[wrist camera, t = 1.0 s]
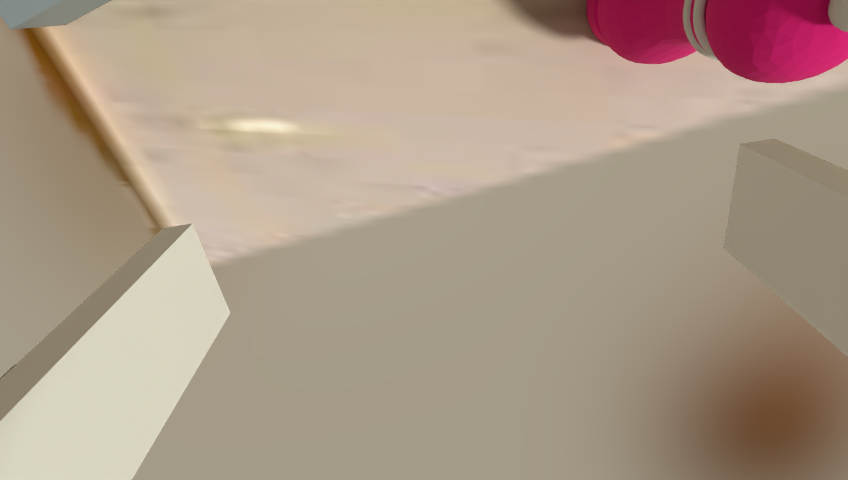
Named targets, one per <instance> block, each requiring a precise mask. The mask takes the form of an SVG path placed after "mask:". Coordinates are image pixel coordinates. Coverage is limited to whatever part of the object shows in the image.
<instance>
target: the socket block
mask: <svg viewBox="0 0 848 480" xmlns="http://www.w3.org/2000/svg"><path fill="white" fill-rule="evenodd" d="M109 1H111V0H0V16H1V17H2V19H3V20H4V21H5V23H6V24H7V25H8V27H9V28H10V29H20V28H33V27H46V26H59V25H66V24H68V23H70V22H72V21H74V20H76V19H77V18H79V17H81V16H83V15H85V14H87V13H88V12H90V11H92V10H94V9H96V8H98V7H100V6H101V5H103V4H105V3H107V2H109Z"/></svg>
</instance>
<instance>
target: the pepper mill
mask: <svg viewBox="0 0 848 480" xmlns="http://www.w3.org/2000/svg"><path fill="white" fill-rule="evenodd" d="M586 9H587V18H588V22H589V25H590V27H591V29H592V32H593V33H594V35H595V36H596V37H597V38H598V39H599V40H600V41H601V42H602V43H604V44H605V45H607V46H609V47H610V48H611V49H612V50H613V51H615V52H616V53H617V54H618V55H619V56H621V57H623V58H625V59H627V60H629V61H632V62H635V63H643V64H662V63H667V62H671V61H674V60H677V59H680V58H683V57H685V56H688V55H690V54H692V53H694V52H695V51H698V52H699V53H701V54H703V55H704V56H707V57H709V58H712V59H716V60H719V61H720V62H721V63H722V64H723V65H724V67H725V68H727V69H728V70H730V71H731V72H733V73H734V74H737V75H739V76H741V77H744V78H746V79H749V80H752V81H757V82H765V83H786V82H793V81H799V80H803V79H806V78H810V77H814V76H817V75H819V74H821V73H823V72H826V71H828V70H830V69H832V68H834V67H836V66H838V65H839V64H841V63H842V62H844V61H845V60H846V59H848V0H587V6H586Z"/></svg>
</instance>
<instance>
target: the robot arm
mask: <svg viewBox="0 0 848 480" xmlns="http://www.w3.org/2000/svg"><path fill="white" fill-rule="evenodd" d="M724 249H725V250H726V251H727V252H728V253H730V254H731V255H732V256H733V257H734V258H735V259H736V260H738V261H739V262H740V263H741V264H742V265H743V266H745V267H746V268H747V269H748V270H749V271H750V272H751V273H753V274H754V275H755V276H756V277H757V278H758V279H759V280H761V281H762V282H763V283H764V284H765V285H766V286H768V287H769V288H770V289H771V290H772V291H773V292H774V293H776V294H777V295H778V296H779V297H780V298H781V299H782V300H783V301H785V302H786V303H787V304H788V305H789V306H790V307H792V308H793V309H794V310H795V311H796V312H797V313H799V314H800V315H801V316H802V317H803V318H804V319H805V320H806V321H808V322H809V323H810V324H811V325H812V326H813V327H814V328H816V329H817V330H818V331H819V332H820V333H821V334H822V335H824V336H825V337H826V338H827V339H828V340H829V341H830V342H832V343H833V344H834V345H835V346H837V348H839V349H840V350H841V351H842V352H843V353H844V354H845V355H847V356H848V170H846V169H843V168H841V167H839V166H836V165H834V164H832V163H829V162H827V161H825V160H823V159H820V158H818V157H816V156H813V155H811V154H809V153H806V152H804V151H802V150H799V149H797V148H795V147H793V146H790V145H788V144H786V143H783V142H781V141H779V140H776V139H770V140H764V141H757V142H749V143H743V144H740V146H739V153H738V159H737V166H736V172H735V178H734V185H733V191H732V198H731V204H730V210H729V217H728V223H727V229H726V236H725V242H724ZM229 314H230V311H229V309H228V307H227V304H226V302H225V299H224V297H223V295H222V292H221V290H220V288H219V285H218V283H217V281H216V278H215V276H214V274H213V271H212V269H211V267H210V264H209V262H208V260H207V257H206V255H205V252H204V250H203V248H202V245H201V243H200V241H199V238H198V236H197V234H196V231H195V229H194V227H193V224H188V225H181V226H174V227H167V228H163V229H161V230H160V231H159V232H158V233H157V234H156V235H155V236H154V237H153V238H152V239H151V240H150V241H149V242H147V243H146V245H144V246H143V247H142V248H141V249H140V250H139V251H138V252H137V253H136V254H135V255H133V256H132V257H131V258H130V259H129V260H128V261H127V262H126V263H125V264H124V265H123V266H122V267H121V268H119V269H118V270H117V271H116V272H115V273H114V274H113V275H112V276H111V277H110V278H109V279H108V280H107V281H105V283H103V284H102V285H101V286H100V287H99V288H98V289H97V290H96V291H95V292H94V293H93V294H91V296H89V297H88V298H87V299H86V300H85V301H84V302H83V303H82V304H81V305H80V306H79V307H78V308H76V309H75V310H74V311H73V312H72V313H71V314H70V315H69V316H68V317H67V318H66V319H65V320H63V322H61V323H60V324H59V325H58V326H57V327H56V328H55V329H54V330H53V331H52V332H51V333H49V334H48V335H47V336H46V337H45V338H44V339H43V340H42V341H41V342H40V343H39V344H38V345H37V346H35V347H34V348H33V349H32V350H31V351H30V352H29V353H28V354H27V355H26V356H25V357H24V358H23V359H22V360H20V361H19V362H18V363H17V364H16V365H14V366H13V367H12V368H11V369H10V370H9V371H8V372H7V373H6V374H4V375H3V376H2V377H1V378H0V480H132V478H133V477H134V475H135V473H136V472H137V470H138V468H139V466H140V464H141V463H142V461H143V460H144V458H145V456H146V455H147V453H148V451H149V449H150V448H151V446H152V444H153V443H154V441H155V439H156V438H157V436H158V434H159V432H160V431H161V429H162V428H163V426H164V424H165V422H166V421H167V419H168V417H169V416H170V414H171V412H172V411H173V409H174V407H175V406H176V404H177V402H178V401H179V399H180V397H181V395H182V394H183V392H184V390H185V389H186V387H187V385H188V383H189V382H190V380H191V378H192V377H193V375H194V373H195V372H196V370H197V368H198V367H199V365H200V363H201V362H202V360H203V358H204V356H205V355H206V353H207V351H208V350H209V348H210V346H211V344H212V343H213V341H214V340H215V338H216V336H217V334H218V333H219V331H220V329H221V328H222V326H223V324H224V323H225V321H226V319H227V318H228V316H229Z"/></svg>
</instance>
